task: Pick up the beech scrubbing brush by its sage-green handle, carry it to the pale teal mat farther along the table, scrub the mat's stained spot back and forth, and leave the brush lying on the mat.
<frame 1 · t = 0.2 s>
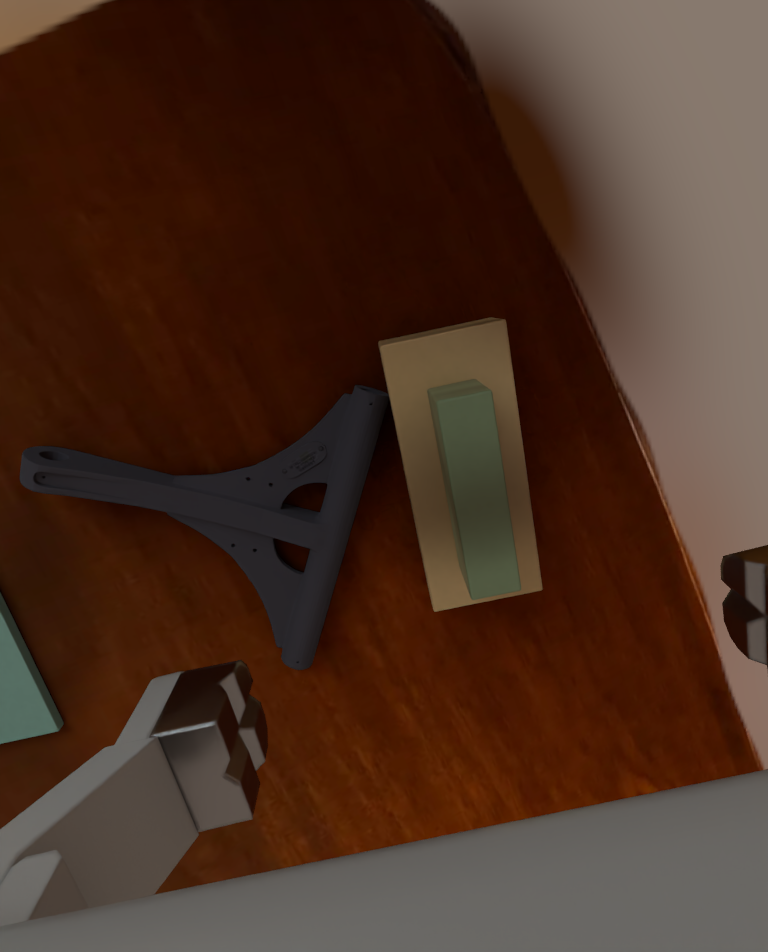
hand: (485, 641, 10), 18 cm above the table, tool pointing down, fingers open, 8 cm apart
bracket: (202, 491, 28), on the table
brush: (453, 454, 27), on the table
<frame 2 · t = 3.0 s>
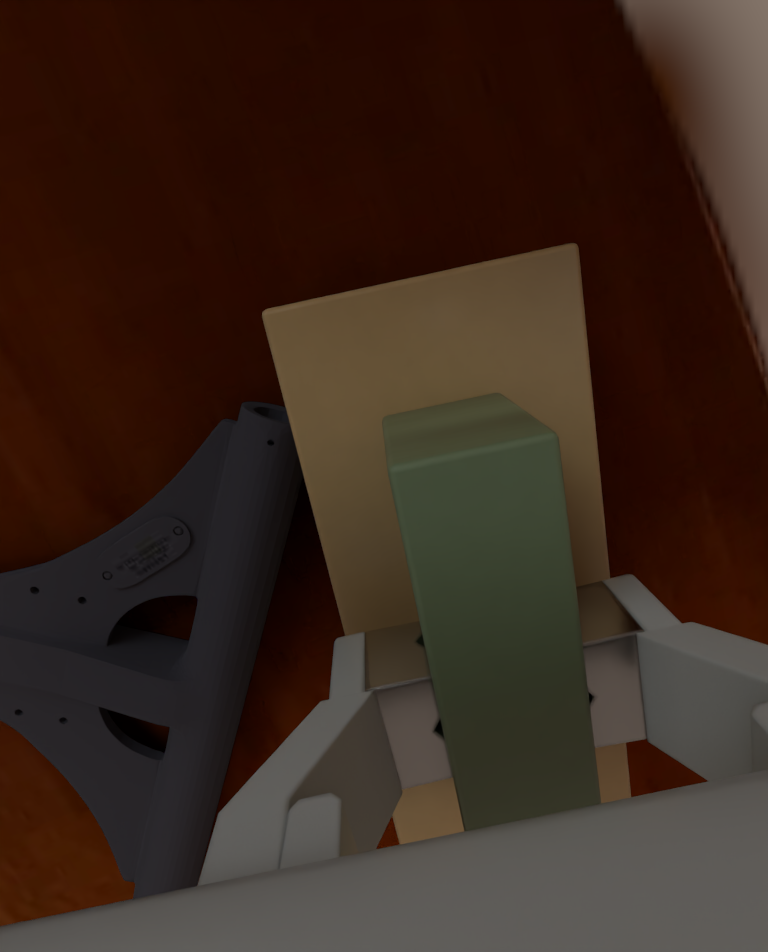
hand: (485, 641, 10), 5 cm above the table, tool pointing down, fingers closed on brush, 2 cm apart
brush: (450, 534, 14), on the table, touching gripper
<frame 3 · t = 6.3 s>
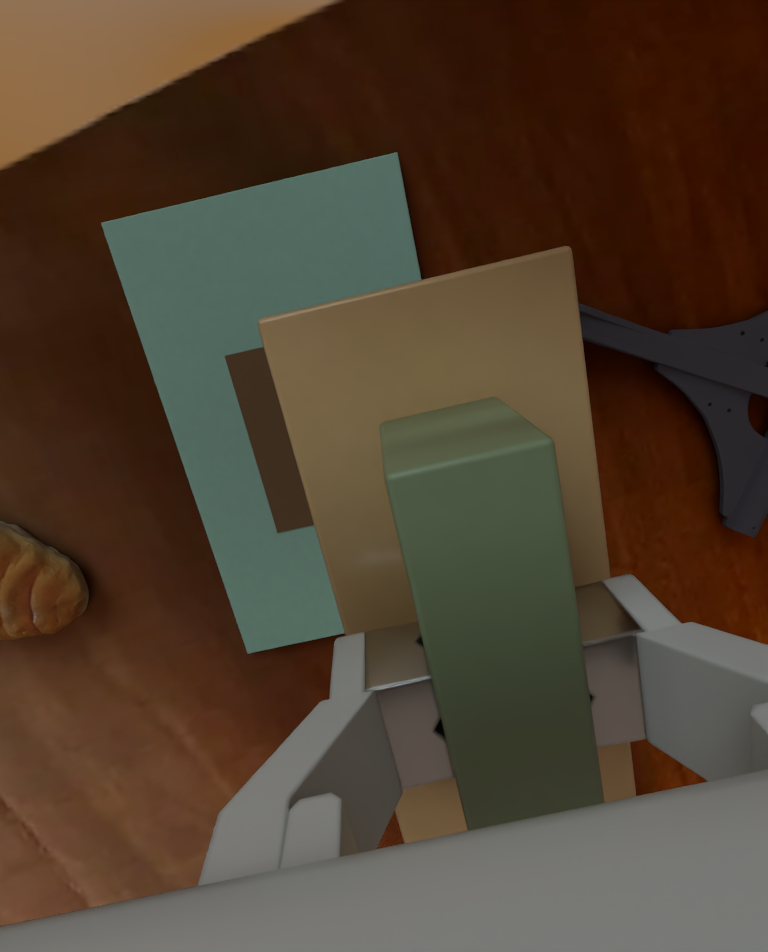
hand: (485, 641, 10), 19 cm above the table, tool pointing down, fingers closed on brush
bracket: (672, 351, 28), on the table
brush: (450, 537, 14), point 15 cm above the table, touching gripper
mat: (313, 432, 28), on the table
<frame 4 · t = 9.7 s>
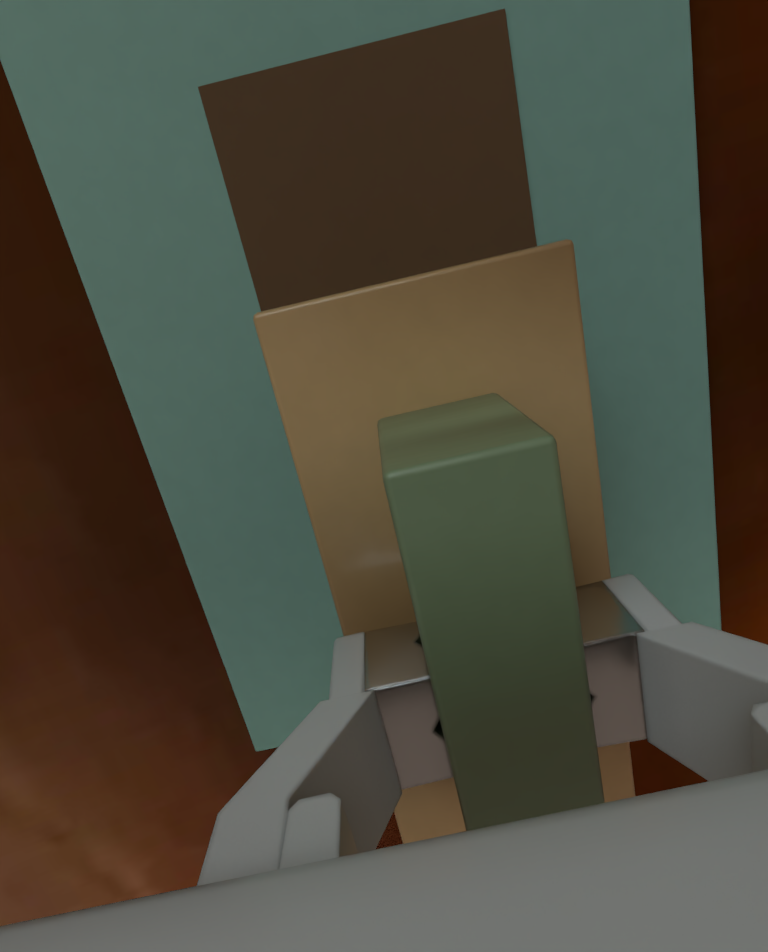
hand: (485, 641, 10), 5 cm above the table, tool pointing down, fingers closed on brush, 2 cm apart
brush: (449, 534, 14), point 1 cm above the table, touching gripper, mat
mat: (398, 291, 13), on the table
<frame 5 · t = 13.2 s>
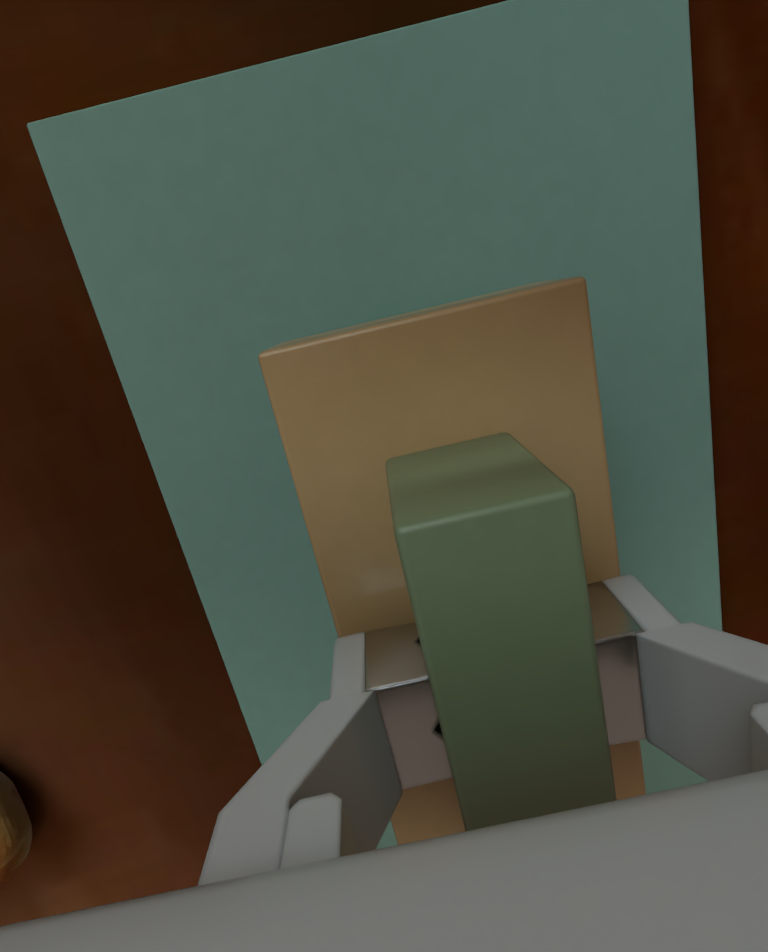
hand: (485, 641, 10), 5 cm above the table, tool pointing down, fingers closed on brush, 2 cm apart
brush: (456, 566, 14), point 1 cm above the table, touching gripper
mat: (451, 542, 15), on the table
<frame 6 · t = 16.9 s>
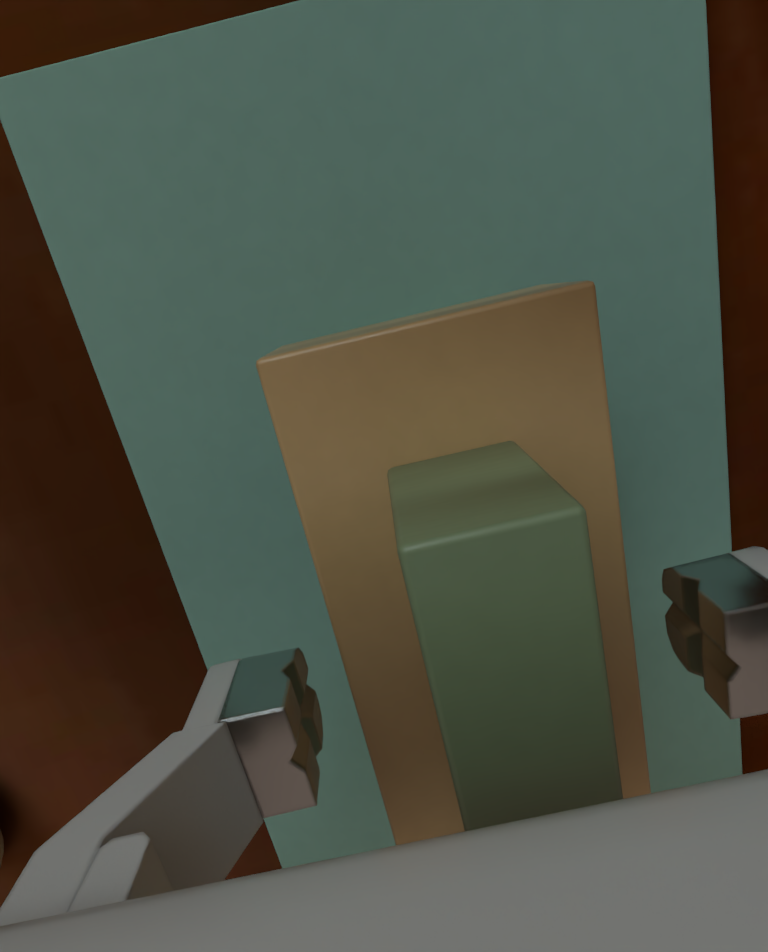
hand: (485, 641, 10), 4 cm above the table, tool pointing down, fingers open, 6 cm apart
brush: (459, 572, 13), point 1 cm above the table, touching mat
mat: (448, 537, 14), on the table
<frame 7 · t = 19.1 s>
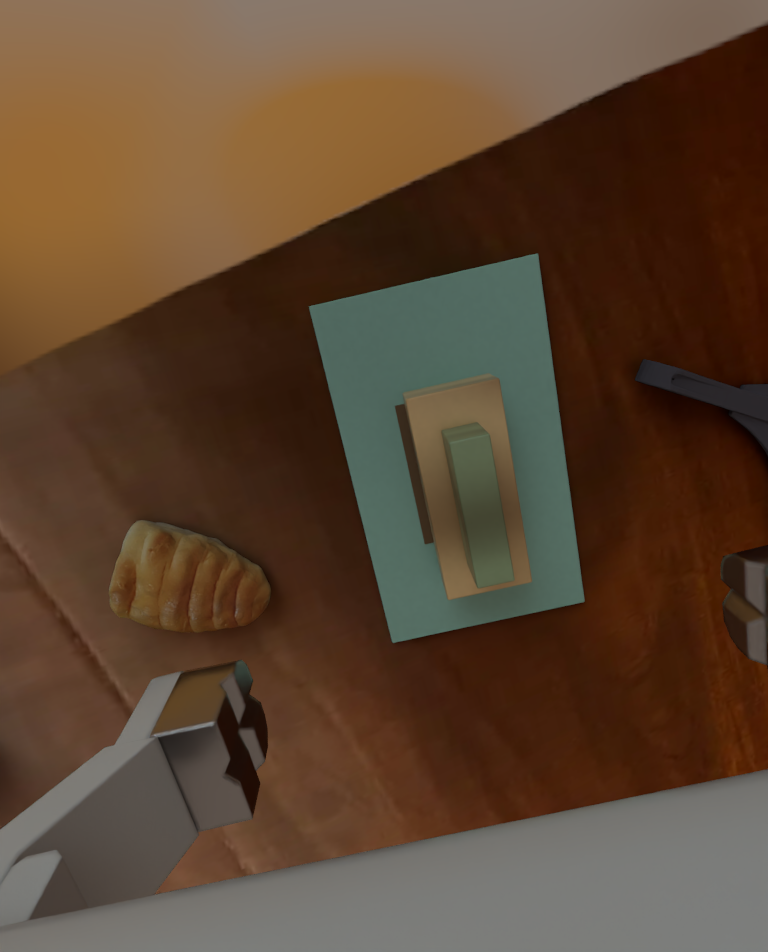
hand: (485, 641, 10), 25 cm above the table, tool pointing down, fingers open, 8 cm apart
bracket: (741, 400, 35), on the table
brush: (461, 476, 35), point 1 cm above the table, touching mat
mat: (456, 464, 35), on the table
pastry: (191, 567, 37), on the table
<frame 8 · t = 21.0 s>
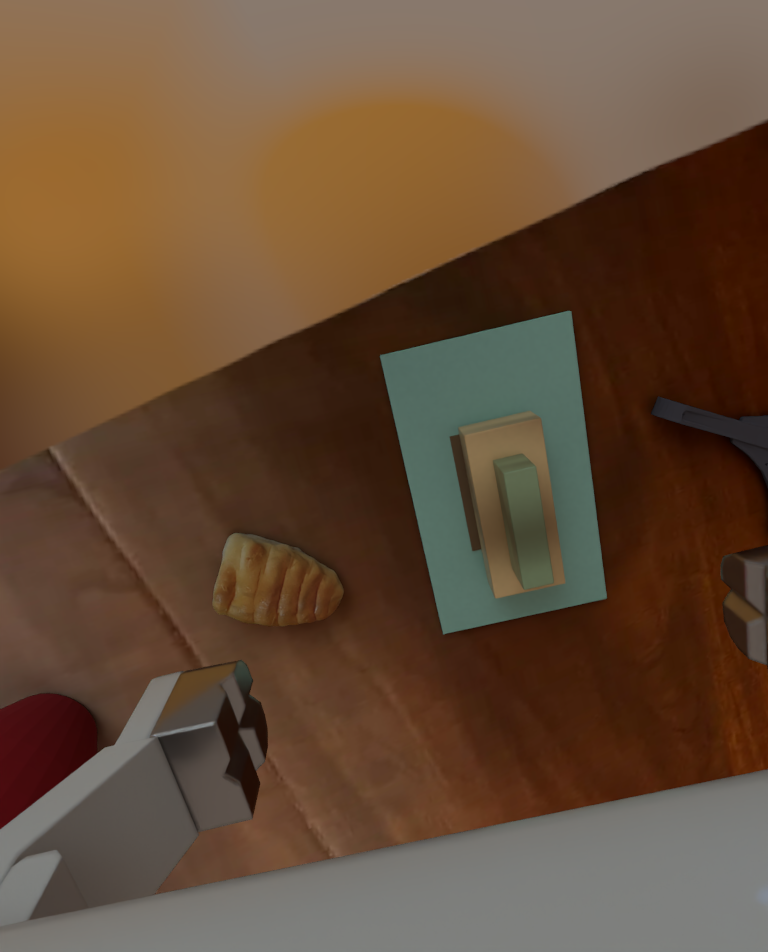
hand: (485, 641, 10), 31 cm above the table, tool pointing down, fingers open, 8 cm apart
bracket: (740, 428, 41), on the table
brush: (504, 494, 41), point 1 cm above the table, touching mat
vase: (57, 723, 47), on the table
mat: (500, 483, 42), on the table
pastry: (273, 571, 43), on the table
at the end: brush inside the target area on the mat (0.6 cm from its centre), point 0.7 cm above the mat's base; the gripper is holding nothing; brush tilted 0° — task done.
